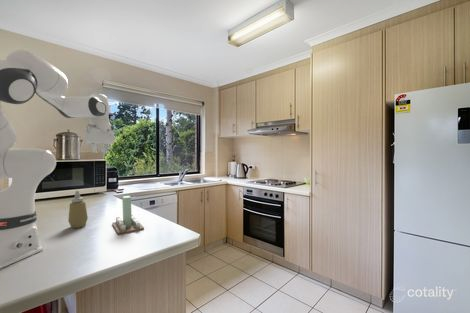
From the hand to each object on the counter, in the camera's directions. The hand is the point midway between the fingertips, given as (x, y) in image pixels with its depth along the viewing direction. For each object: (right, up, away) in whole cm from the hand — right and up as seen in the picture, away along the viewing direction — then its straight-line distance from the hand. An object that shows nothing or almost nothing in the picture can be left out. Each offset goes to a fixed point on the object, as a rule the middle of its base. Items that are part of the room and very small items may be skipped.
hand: (100, 152), depth 114 cm
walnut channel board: (+17, -37, -6) cm, 41 cm away
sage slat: (+17, -36, -6) cm, 40 cm away
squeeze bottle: (-9, -38, -3) cm, 39 cm away
